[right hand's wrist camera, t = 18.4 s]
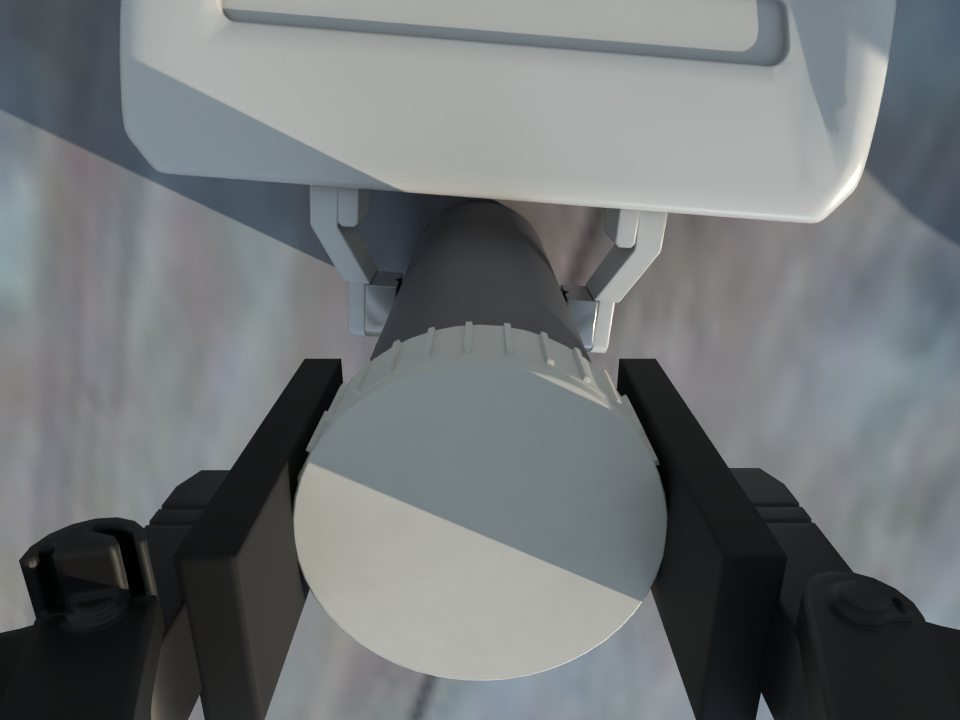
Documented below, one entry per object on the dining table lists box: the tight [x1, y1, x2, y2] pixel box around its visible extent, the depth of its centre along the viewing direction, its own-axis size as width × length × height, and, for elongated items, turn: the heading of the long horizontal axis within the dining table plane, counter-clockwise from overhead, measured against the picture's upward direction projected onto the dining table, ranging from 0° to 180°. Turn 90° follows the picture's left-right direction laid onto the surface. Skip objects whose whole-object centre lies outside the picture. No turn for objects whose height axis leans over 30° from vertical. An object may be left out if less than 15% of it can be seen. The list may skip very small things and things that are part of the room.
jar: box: [370, 202, 592, 364], centre depth 19 cm, size 5×5×17 cm
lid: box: [293, 321, 668, 681], centre depth 11 cm, size 6×6×2 cm
